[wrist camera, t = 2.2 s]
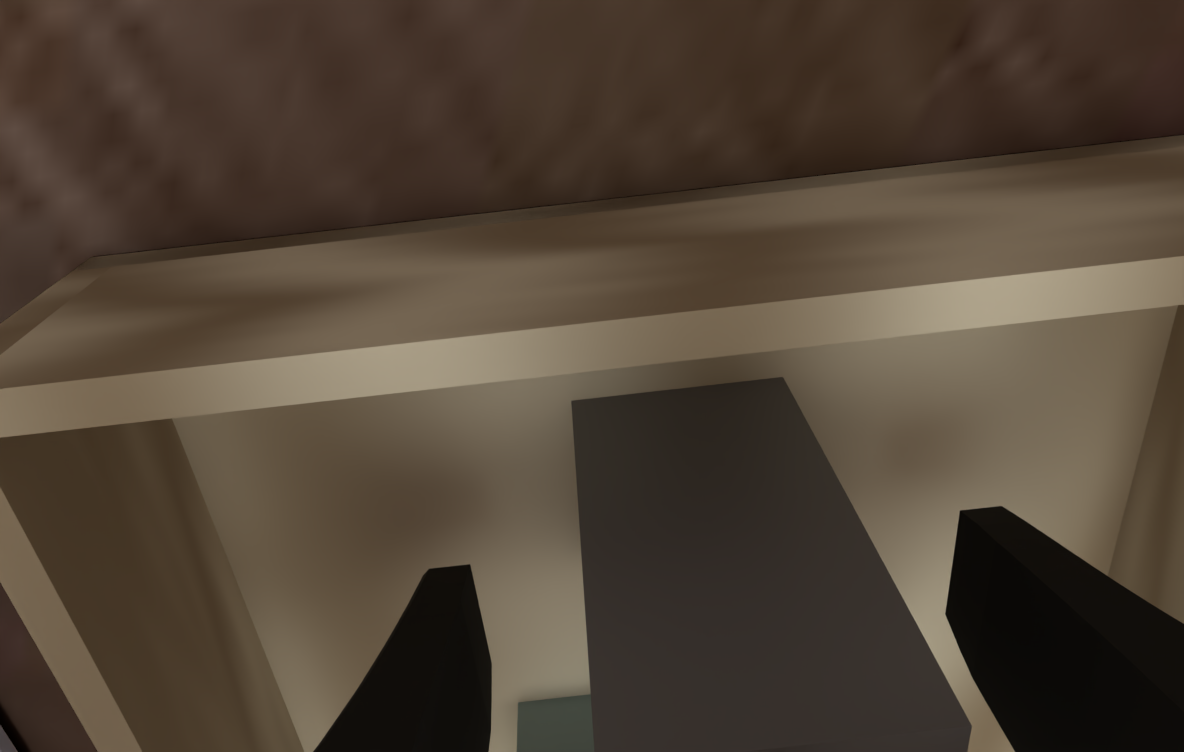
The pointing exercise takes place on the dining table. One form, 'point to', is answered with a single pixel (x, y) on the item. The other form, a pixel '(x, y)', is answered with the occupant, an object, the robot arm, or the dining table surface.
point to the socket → (555, 725)
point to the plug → (740, 587)
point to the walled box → (567, 418)
